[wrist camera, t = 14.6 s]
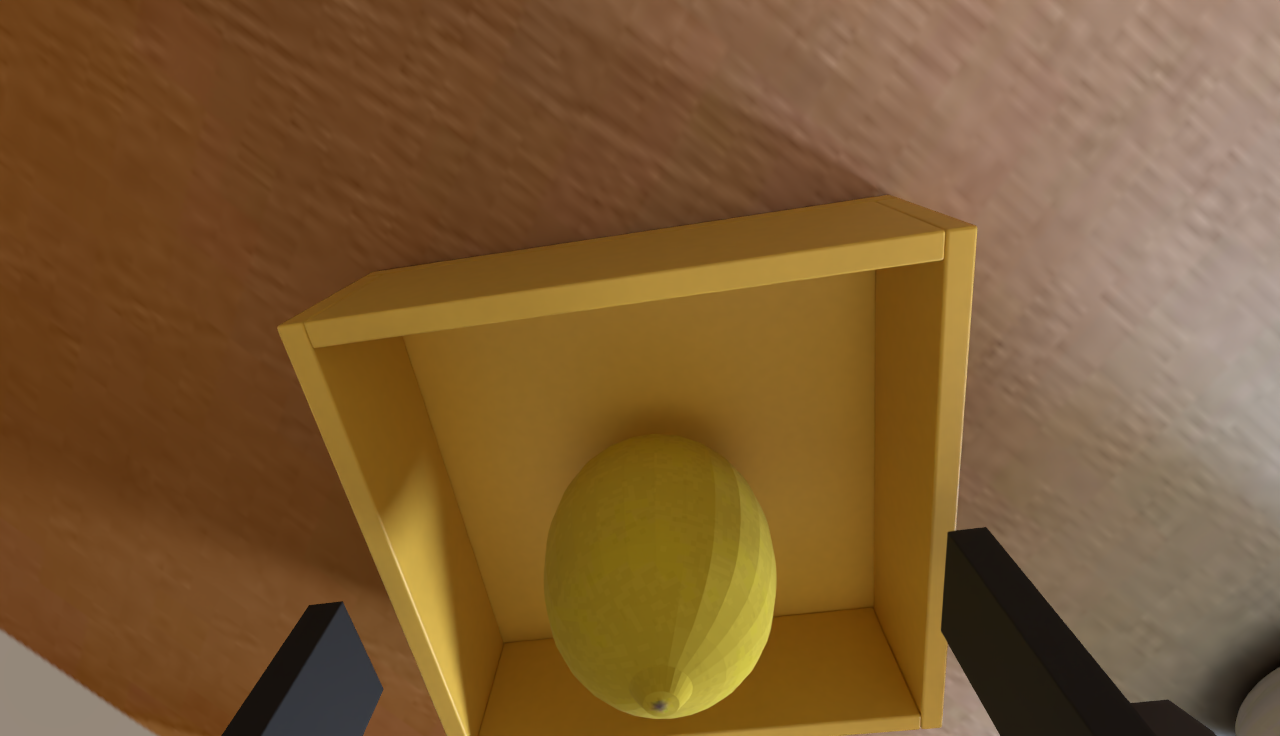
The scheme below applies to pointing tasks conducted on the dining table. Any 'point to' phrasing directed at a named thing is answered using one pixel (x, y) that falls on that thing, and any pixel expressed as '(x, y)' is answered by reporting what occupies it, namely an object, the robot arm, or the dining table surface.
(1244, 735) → the teacup
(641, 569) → the lemon
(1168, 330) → the dining table surface
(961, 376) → the yellow bin
